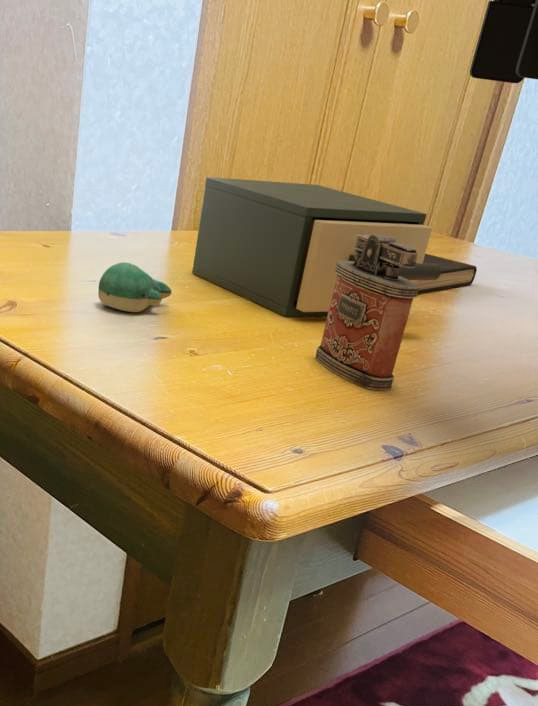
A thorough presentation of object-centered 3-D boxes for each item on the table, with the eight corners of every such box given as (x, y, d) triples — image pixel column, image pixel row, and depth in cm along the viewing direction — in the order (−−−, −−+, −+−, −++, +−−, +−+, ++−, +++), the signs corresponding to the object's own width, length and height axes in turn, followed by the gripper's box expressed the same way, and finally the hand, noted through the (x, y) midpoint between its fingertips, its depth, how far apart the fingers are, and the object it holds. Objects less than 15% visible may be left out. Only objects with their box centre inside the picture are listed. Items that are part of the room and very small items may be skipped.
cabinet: (399, 314, 85) (427, 213, 80) (285, 317, 78) (307, 207, 73) (298, 273, 97) (317, 184, 92) (191, 273, 90) (205, 176, 86)
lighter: (305, 355, 67) (334, 224, 63) (340, 355, 69) (371, 227, 64) (364, 390, 61) (402, 248, 56) (402, 389, 62) (441, 250, 58)
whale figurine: (81, 301, 74) (85, 257, 72) (138, 294, 79) (143, 252, 77) (129, 319, 71) (134, 273, 69) (185, 310, 76) (191, 267, 74)
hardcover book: (410, 295, 94) (416, 274, 93) (249, 249, 107) (252, 230, 106) (472, 284, 104) (478, 265, 103) (318, 244, 118) (322, 227, 116)
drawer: (453, 327, 79) (480, 240, 75) (344, 330, 72) (367, 236, 69) (311, 271, 94) (327, 197, 90) (211, 270, 88) (224, 191, 84)
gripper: (840, -420, 32) (650, 91, 40) (644, -259, 47) (536, 88, 55) (639, -443, 32) (492, 69, 40) (509, -275, 47) (422, 73, 55)
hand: (518, 80), depth 48 cm, fingers open, 9 cm apart
